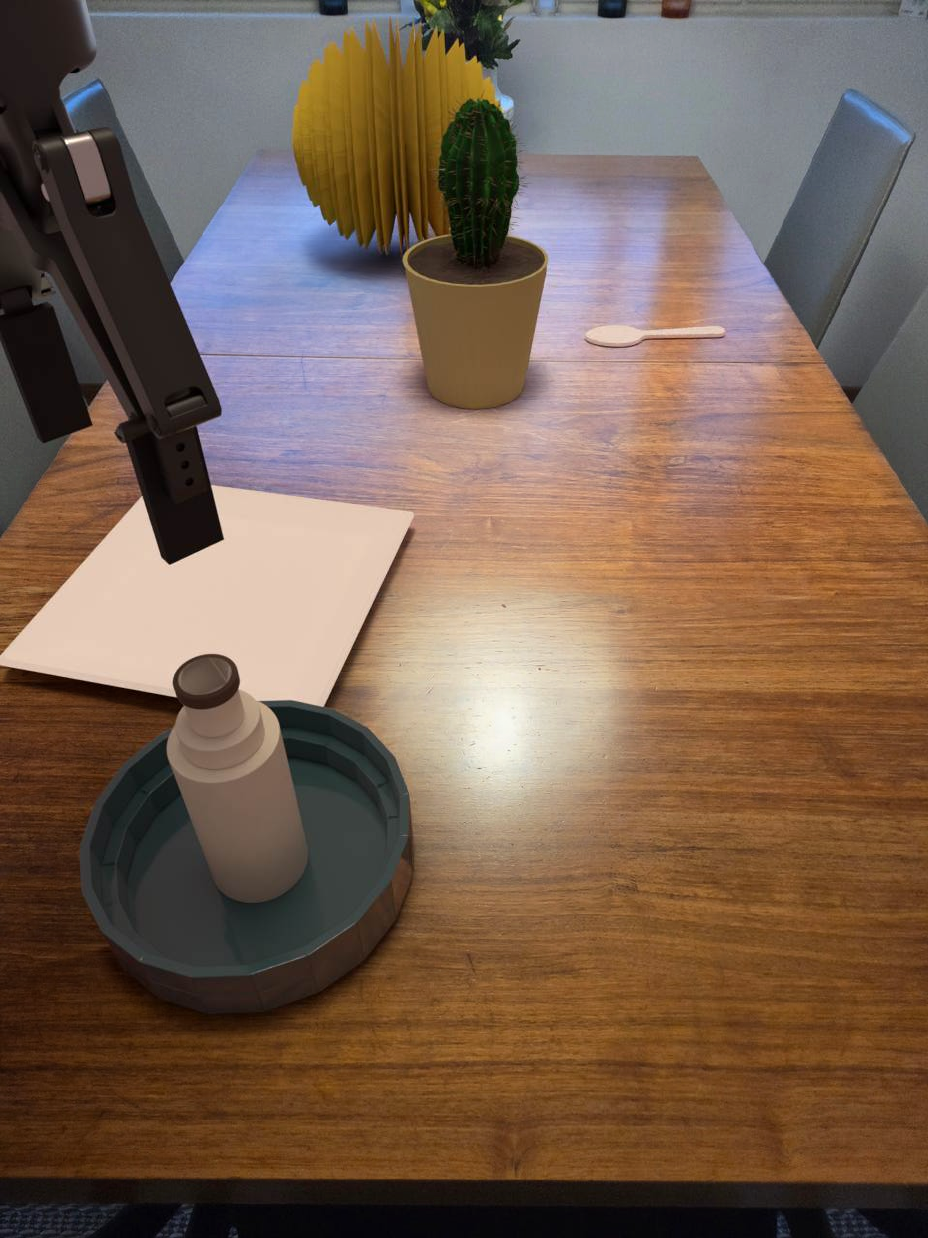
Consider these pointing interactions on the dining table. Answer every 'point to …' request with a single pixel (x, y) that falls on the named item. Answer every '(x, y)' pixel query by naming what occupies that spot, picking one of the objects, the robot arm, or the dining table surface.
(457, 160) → the potted cactus
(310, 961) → the bowl
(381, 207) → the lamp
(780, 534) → the dining table surface
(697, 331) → the spoon
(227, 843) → the bottle
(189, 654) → the beige square board
